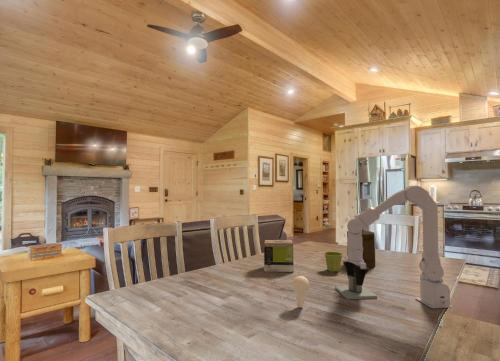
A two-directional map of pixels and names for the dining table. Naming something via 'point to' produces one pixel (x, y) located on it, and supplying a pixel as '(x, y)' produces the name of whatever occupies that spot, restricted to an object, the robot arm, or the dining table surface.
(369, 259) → the wooden container
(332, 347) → the dining table surface
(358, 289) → the tube
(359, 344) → the dining table surface
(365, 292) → the shaft plate
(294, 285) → the lightbulb
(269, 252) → the tea box
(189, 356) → the dining table surface
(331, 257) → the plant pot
